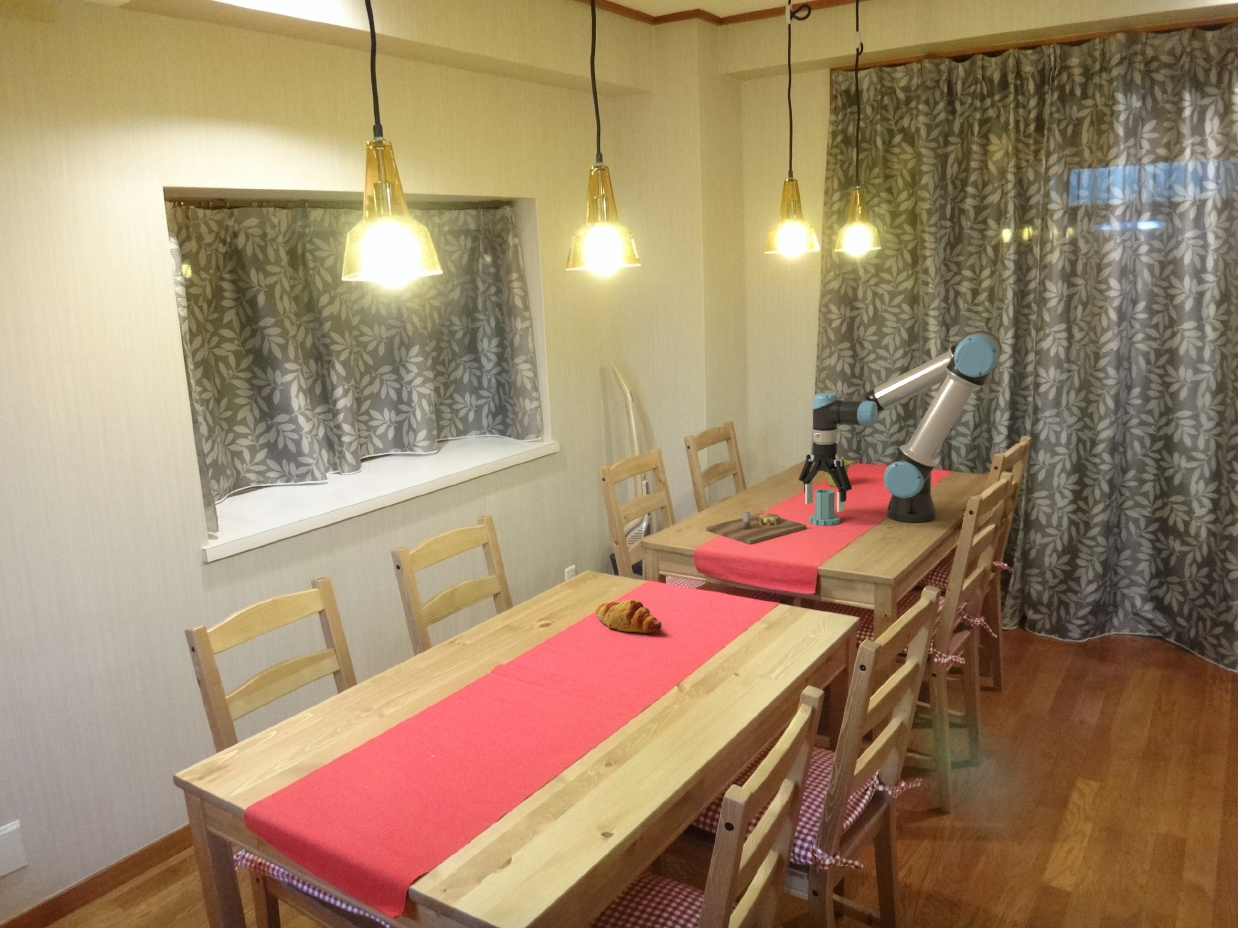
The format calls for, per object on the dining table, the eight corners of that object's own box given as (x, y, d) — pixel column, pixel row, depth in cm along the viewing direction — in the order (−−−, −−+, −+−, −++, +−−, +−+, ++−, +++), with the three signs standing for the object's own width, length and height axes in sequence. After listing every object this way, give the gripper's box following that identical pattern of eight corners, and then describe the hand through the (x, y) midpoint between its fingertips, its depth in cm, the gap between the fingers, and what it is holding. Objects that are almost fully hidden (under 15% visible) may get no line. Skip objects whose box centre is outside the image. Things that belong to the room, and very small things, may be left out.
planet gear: (846, 521, 315) (846, 491, 312) (825, 527, 309) (825, 496, 307) (823, 515, 322) (823, 486, 320) (803, 521, 317) (803, 491, 315)
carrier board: (806, 528, 309) (806, 509, 308) (749, 544, 296) (749, 524, 294) (761, 516, 325) (761, 498, 324) (706, 530, 311) (705, 511, 310)
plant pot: (848, 481, 366) (848, 459, 364) (851, 487, 357) (852, 464, 355) (823, 482, 367) (823, 459, 365) (825, 488, 358) (825, 465, 356)
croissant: (589, 632, 243) (576, 609, 239) (612, 603, 248) (600, 581, 244) (654, 651, 228) (642, 627, 224) (677, 620, 234) (666, 596, 230)
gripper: (787, 438, 318) (788, 502, 323) (847, 449, 298) (846, 516, 303) (804, 435, 322) (804, 498, 327) (863, 445, 302) (862, 512, 307)
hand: (824, 507), depth 315 cm, fingers open, 13 cm apart
